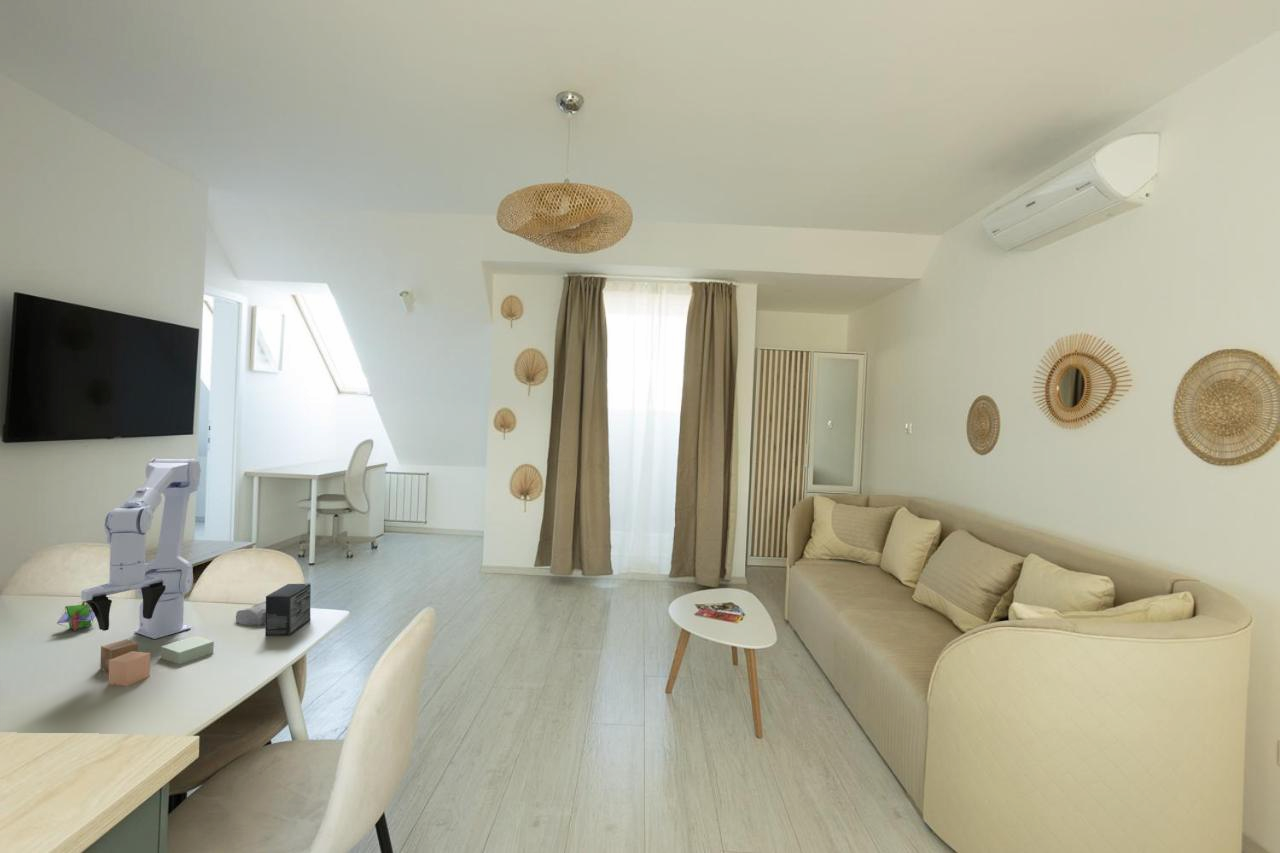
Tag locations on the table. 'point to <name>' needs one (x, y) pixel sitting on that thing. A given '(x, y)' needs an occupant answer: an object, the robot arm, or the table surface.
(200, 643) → the base block
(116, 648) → the walnut block
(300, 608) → the small box
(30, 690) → the table surface
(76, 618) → the geometric puzzle
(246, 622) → the stone block
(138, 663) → the terracotta block
